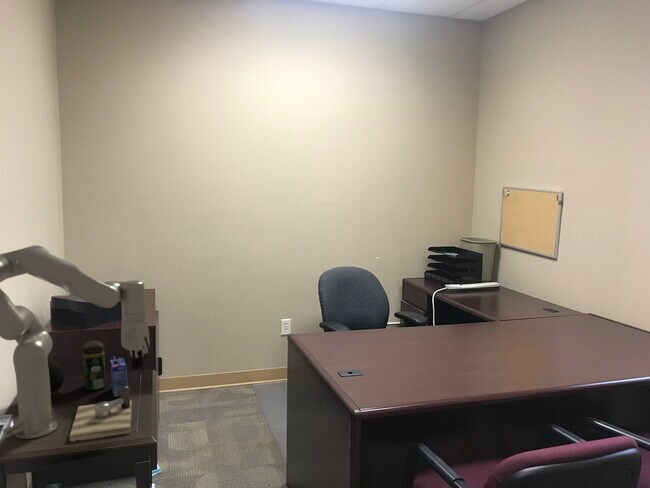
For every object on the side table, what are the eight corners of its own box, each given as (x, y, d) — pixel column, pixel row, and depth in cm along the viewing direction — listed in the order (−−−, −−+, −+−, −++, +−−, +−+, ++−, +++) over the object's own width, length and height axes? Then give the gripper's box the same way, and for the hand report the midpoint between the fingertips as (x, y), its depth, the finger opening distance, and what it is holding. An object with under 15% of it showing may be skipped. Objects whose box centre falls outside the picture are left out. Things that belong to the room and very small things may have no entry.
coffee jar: (83, 384, 213) (81, 340, 211) (104, 381, 217) (102, 338, 215) (85, 392, 205) (83, 347, 203) (107, 388, 208) (104, 344, 207)
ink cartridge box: (110, 388, 209) (109, 353, 207) (125, 386, 211) (124, 351, 210) (113, 397, 200) (111, 361, 198) (128, 394, 202) (126, 358, 201)
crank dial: (100, 419, 175) (99, 399, 174) (92, 416, 178) (91, 396, 177) (133, 406, 186) (132, 387, 185) (124, 403, 188) (123, 384, 188)
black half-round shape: (22, 399, 198) (20, 361, 197) (60, 390, 207) (57, 354, 206) (31, 409, 189) (28, 370, 187) (69, 400, 197) (67, 362, 196)
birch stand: (130, 433, 170) (130, 426, 170) (69, 441, 164) (69, 435, 164) (131, 404, 193) (131, 399, 192) (78, 411, 187) (78, 405, 187)
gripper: (111, 316, 180) (115, 367, 181) (139, 321, 171) (142, 375, 173) (130, 311, 186) (133, 361, 188) (157, 316, 178) (160, 368, 180)
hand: (137, 367), depth 181 cm, fingers closed
